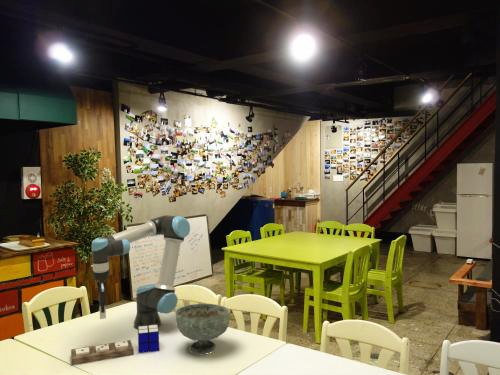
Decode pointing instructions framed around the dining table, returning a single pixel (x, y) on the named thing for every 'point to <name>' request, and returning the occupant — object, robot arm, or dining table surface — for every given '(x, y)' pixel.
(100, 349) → the tile three
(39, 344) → the dining table surface
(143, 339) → the puzzle cube
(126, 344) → the tile two
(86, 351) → the tile one
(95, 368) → the dining table surface
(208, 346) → the decorative bowl
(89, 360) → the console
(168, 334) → the dining table surface
